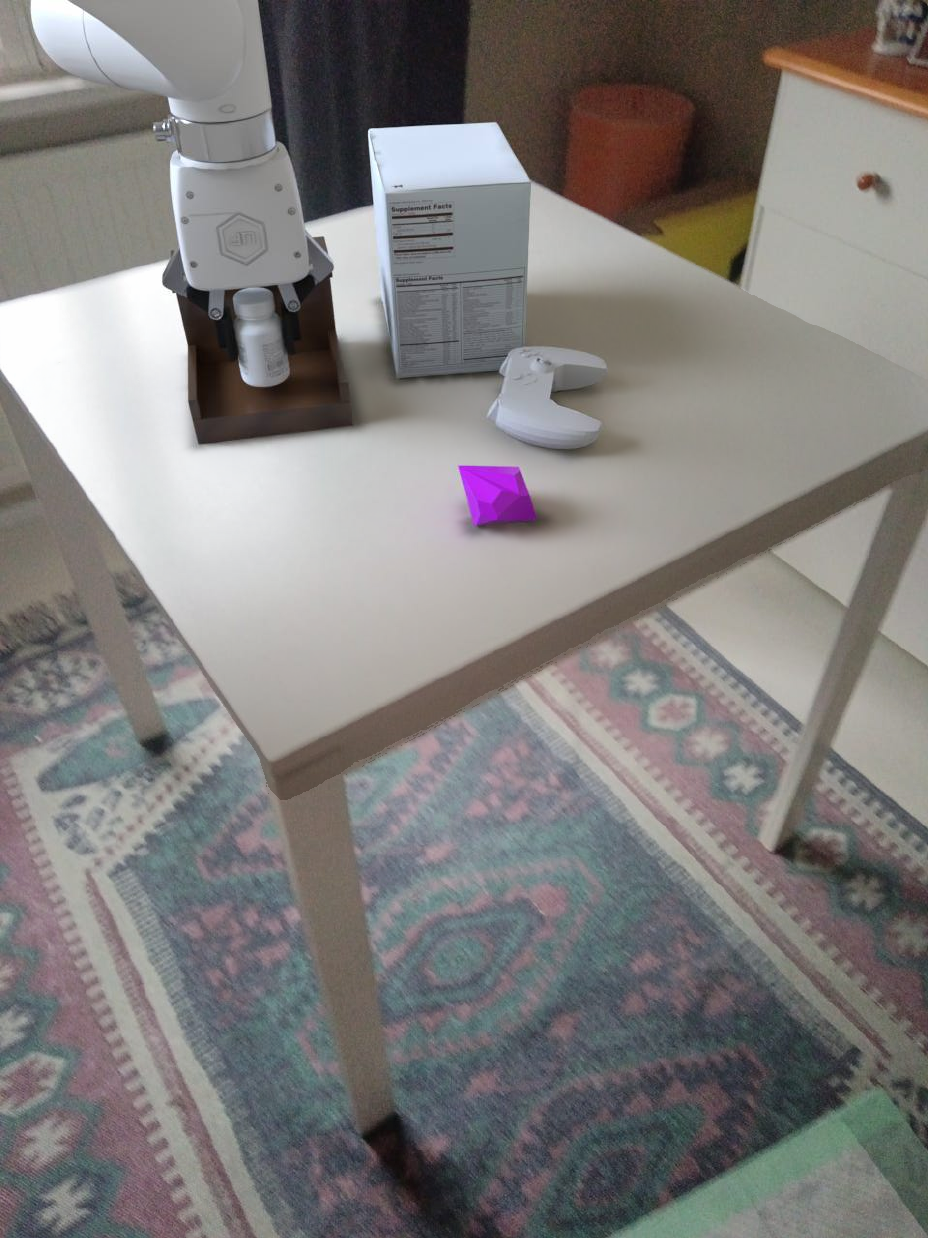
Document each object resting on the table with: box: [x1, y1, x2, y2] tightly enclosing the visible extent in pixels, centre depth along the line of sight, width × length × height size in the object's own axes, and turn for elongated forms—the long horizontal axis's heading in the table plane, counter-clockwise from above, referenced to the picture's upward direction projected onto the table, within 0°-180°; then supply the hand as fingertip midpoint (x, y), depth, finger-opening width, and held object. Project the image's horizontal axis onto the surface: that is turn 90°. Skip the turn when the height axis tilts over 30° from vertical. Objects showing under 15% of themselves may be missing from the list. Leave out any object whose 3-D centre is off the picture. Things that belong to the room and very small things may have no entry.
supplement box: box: [367, 121, 532, 379], centre depth 96 cm, size 17×13×18 cm
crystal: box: [457, 464, 539, 527], centre depth 79 cm, size 5×5×5 cm
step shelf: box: [170, 235, 354, 445], centre depth 91 cm, size 14×16×11 cm
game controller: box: [486, 345, 608, 450], centre depth 90 cm, size 14×4×10 cm
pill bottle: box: [233, 287, 290, 387], centre depth 87 cm, size 4×4×8 cm
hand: (261, 348), depth 87 cm, fingers closed on pill bottle, 4 cm apart
